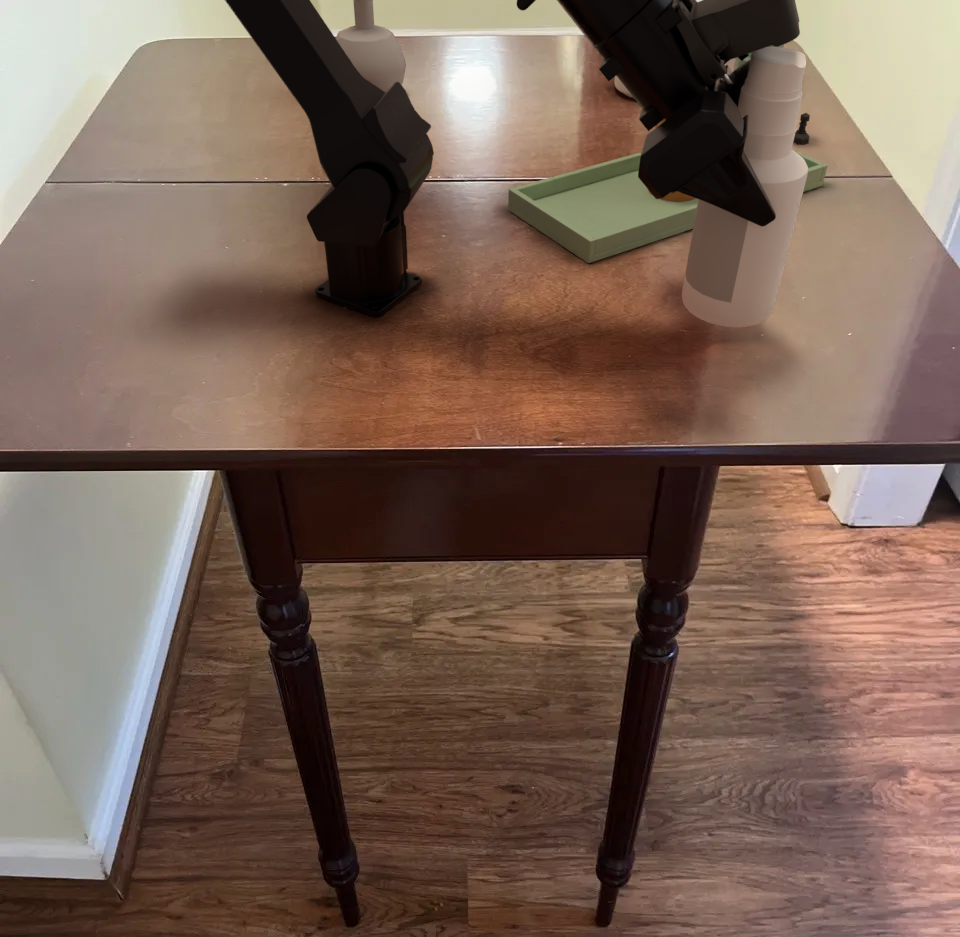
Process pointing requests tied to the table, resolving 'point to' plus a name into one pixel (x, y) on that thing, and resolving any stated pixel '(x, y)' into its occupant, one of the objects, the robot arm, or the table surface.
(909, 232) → the table surface
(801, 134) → the chess pawn
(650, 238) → the tray
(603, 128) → the table surface
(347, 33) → the potion bottle
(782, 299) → the table surface
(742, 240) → the spray bottle
